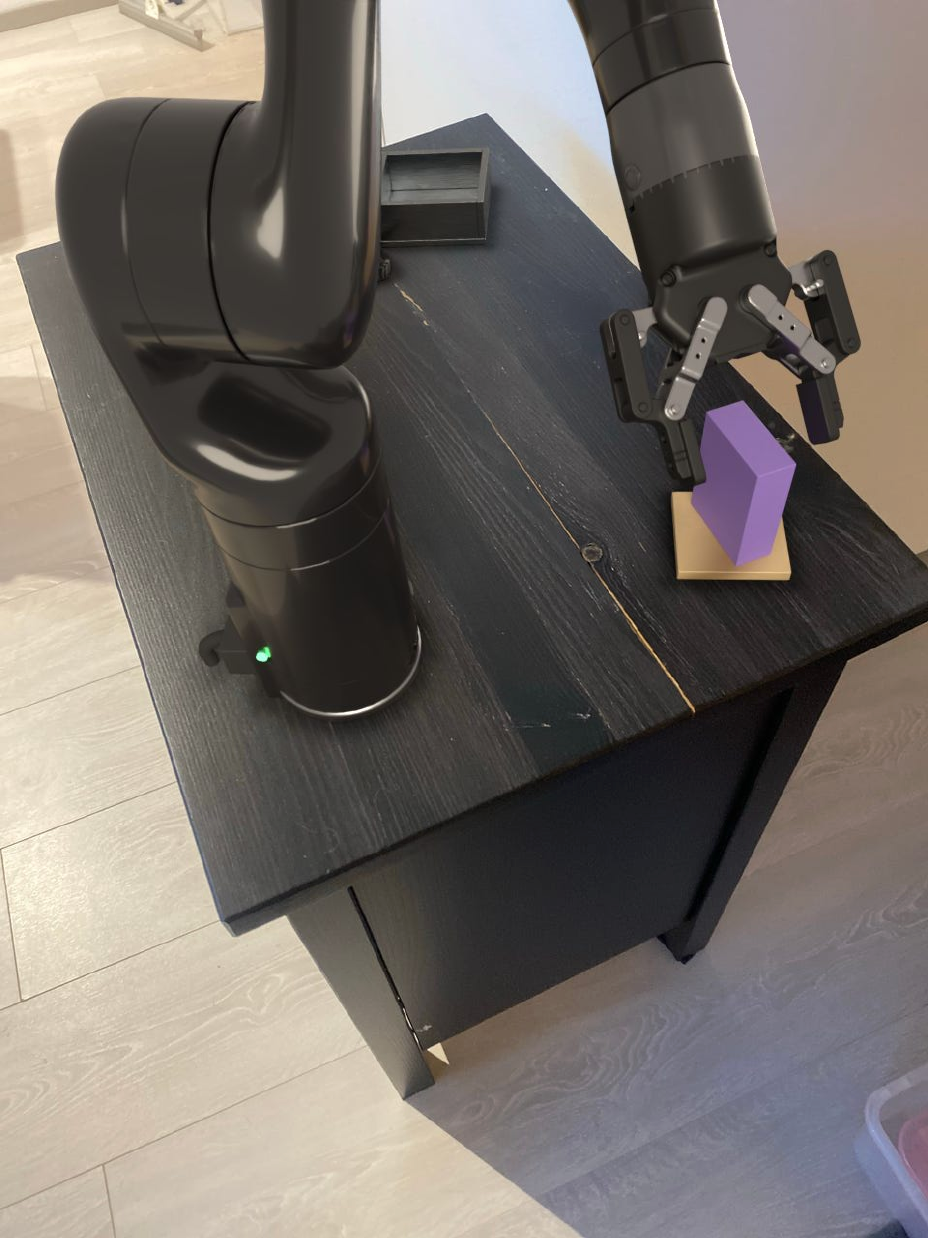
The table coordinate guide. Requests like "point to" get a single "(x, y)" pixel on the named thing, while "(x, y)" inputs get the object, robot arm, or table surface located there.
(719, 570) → the coaster
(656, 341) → the table surface
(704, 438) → the purple rectangular block
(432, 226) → the black tray
